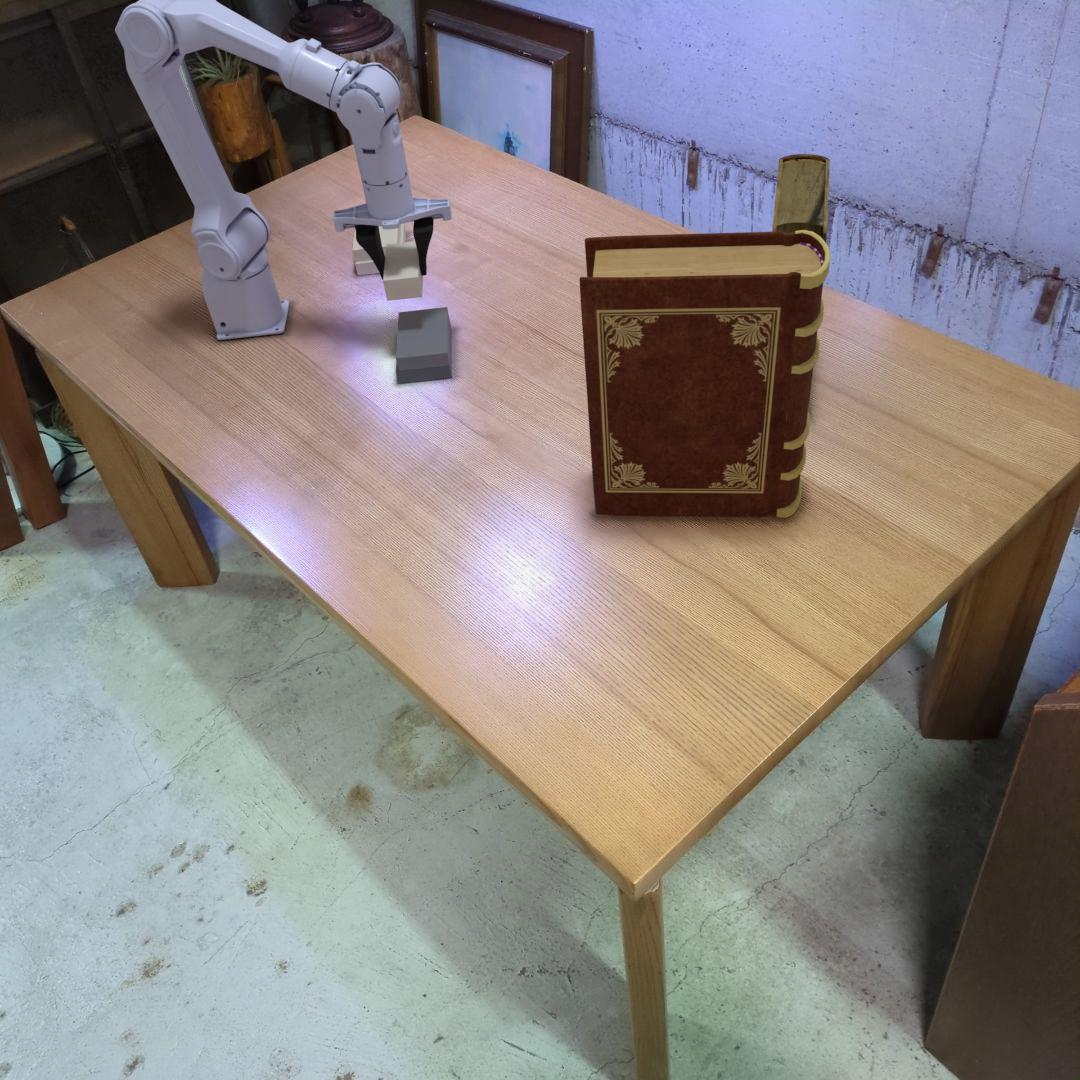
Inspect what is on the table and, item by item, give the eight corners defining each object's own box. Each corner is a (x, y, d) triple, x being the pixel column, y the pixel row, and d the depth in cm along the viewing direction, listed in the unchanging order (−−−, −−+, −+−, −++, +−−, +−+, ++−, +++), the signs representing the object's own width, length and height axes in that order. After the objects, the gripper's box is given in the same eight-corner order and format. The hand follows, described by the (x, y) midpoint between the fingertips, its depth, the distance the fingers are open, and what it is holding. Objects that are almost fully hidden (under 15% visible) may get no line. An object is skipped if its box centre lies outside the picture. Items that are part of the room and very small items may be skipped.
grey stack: (398, 384, 137) (392, 358, 134) (400, 335, 145) (395, 310, 142) (451, 378, 137) (447, 352, 134) (451, 330, 145) (447, 305, 142)
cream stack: (357, 275, 157) (351, 251, 154) (361, 238, 165) (356, 214, 162) (404, 270, 157) (399, 246, 154) (406, 233, 165) (401, 209, 162)
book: (765, 338, 137) (779, 153, 119) (809, 340, 136) (829, 154, 118) (758, 418, 126) (772, 227, 108) (805, 421, 125) (827, 228, 107)
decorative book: (798, 469, 119) (826, 227, 98) (803, 519, 114) (834, 274, 92) (599, 469, 122) (584, 234, 101) (595, 517, 116) (578, 280, 95)
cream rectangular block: (387, 301, 135) (382, 280, 133) (390, 264, 141) (386, 244, 139) (422, 297, 135) (418, 276, 133) (423, 260, 141) (420, 240, 139)
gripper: (322, 196, 125) (346, 296, 135) (443, 183, 125) (459, 284, 134) (327, 169, 130) (350, 267, 140) (444, 156, 130) (459, 255, 139)
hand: (404, 273), depth 137 cm, fingers closed on cream rectangular block, 4 cm apart
